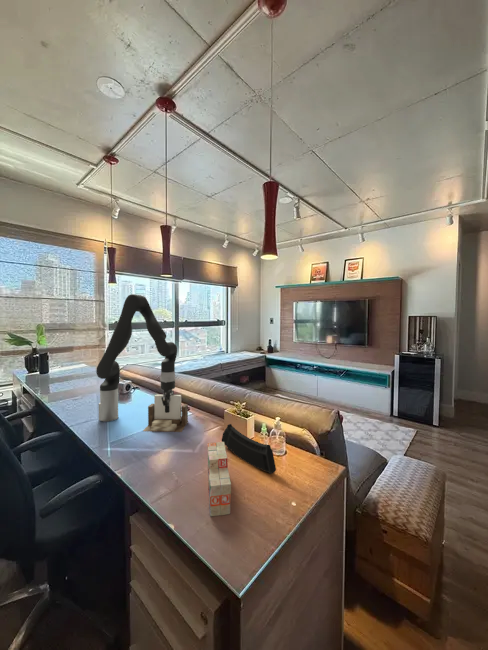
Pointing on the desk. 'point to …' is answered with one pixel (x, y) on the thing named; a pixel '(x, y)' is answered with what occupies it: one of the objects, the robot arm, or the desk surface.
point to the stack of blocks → (218, 480)
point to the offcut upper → (161, 423)
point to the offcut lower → (164, 428)
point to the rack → (174, 421)
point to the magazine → (249, 449)
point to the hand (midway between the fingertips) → (167, 411)
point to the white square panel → (173, 407)
